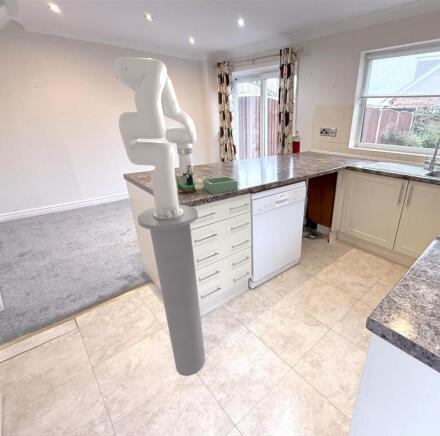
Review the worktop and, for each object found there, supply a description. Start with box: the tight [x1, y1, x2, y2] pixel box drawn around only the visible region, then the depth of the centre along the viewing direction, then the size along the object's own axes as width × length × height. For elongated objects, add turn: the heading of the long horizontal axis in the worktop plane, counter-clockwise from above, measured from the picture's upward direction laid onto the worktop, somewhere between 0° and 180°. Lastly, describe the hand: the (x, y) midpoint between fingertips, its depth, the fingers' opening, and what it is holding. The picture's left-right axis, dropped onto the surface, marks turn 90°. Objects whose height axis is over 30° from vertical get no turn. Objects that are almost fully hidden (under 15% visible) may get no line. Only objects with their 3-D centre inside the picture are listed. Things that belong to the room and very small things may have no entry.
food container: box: [175, 172, 197, 194], centre depth 139 cm, size 12×6×10 cm, turn 137°
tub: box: [202, 175, 239, 195], centre depth 148 cm, size 13×17×6 cm
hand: (188, 183), depth 139 cm, fingers closed on food container, 6 cm apart
